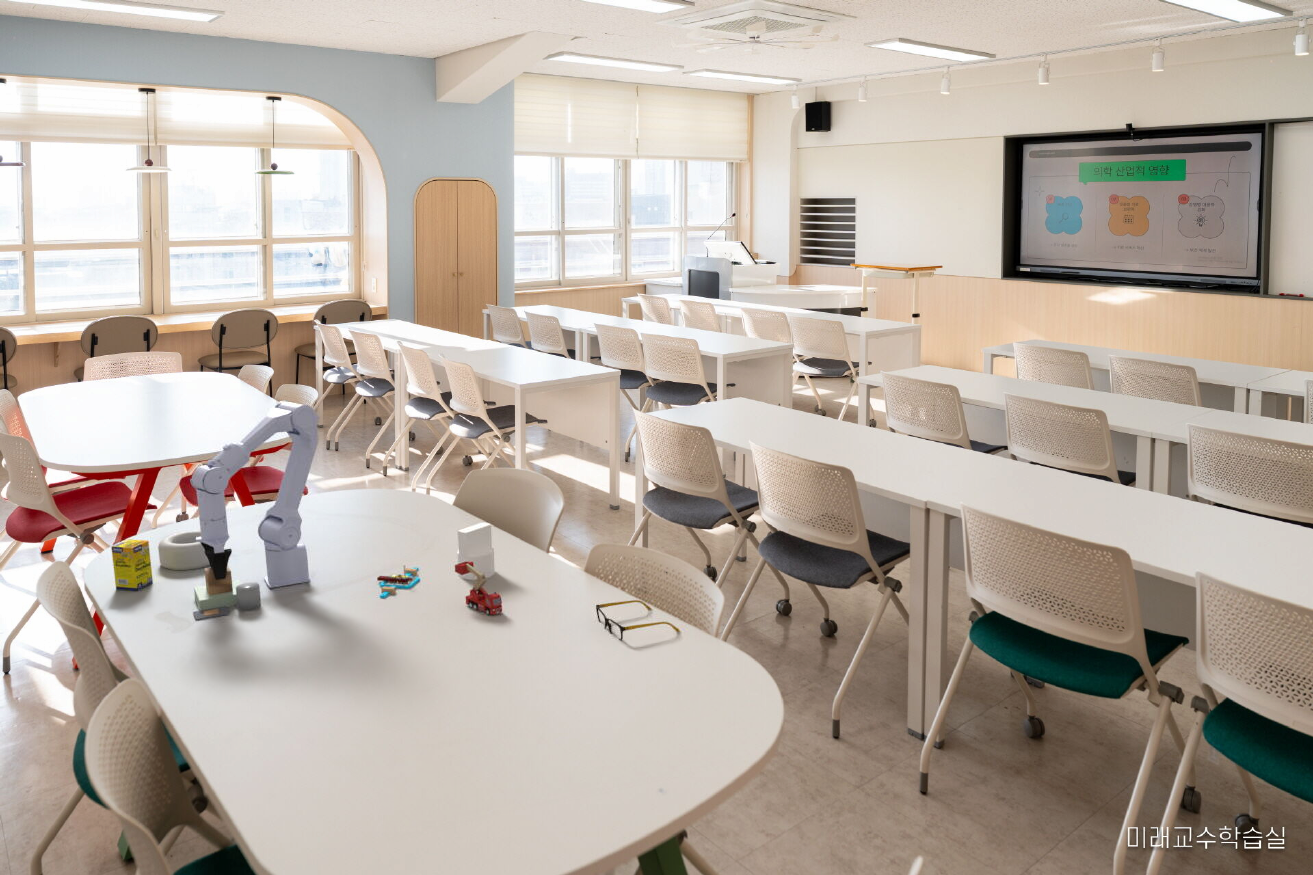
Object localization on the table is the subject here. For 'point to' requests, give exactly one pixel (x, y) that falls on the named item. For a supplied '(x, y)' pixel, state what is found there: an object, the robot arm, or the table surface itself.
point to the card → (211, 613)
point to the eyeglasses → (627, 626)
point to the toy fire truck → (480, 591)
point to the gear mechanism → (402, 581)
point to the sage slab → (215, 597)
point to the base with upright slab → (476, 549)
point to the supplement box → (132, 564)
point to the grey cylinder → (248, 596)
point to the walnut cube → (218, 582)
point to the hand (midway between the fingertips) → (218, 573)
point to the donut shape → (182, 551)
